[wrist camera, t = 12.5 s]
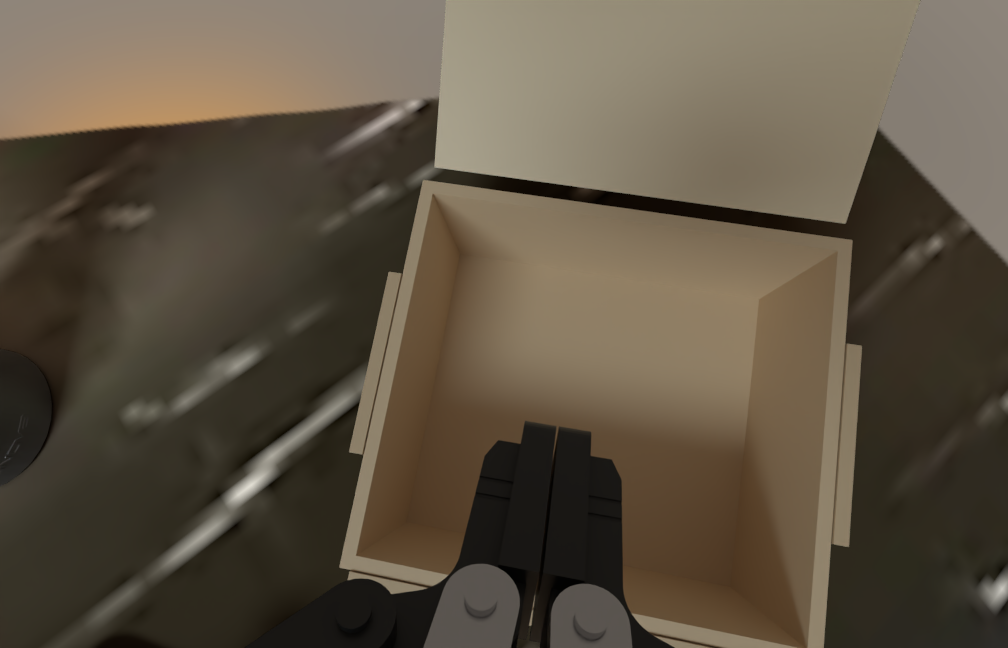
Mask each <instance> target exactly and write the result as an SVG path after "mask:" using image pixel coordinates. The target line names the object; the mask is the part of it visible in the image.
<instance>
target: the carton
mask: <svg viewBox="0 0 1008 648" xmlns="http://www.w3.org/2000/svg"><path fill="white" fill-rule="evenodd" d="M852 241H853V240H848V239H841V238H834V237H826V236H819V235H812V234H805V233H798V232H791V231H784V230H776V229H769V228H762V227H755V226H748V225H741V224H734V223H727V222H719V221H712V220H705V219H698V218H691V217H684V216H677V215H669V214H662V213H655V212H648V211H641V210H634V209H627V208H620V207H612V206H605V205H598V204H591V203H584V202H577V201H570V200H562V199H555V198H548V197H541V196H534V195H527V194H520V193H513V192H505V191H498V190H491V189H484V188H477V187H470V186H463V185H455V184H448V183H441V182H434V181H427V180H423V183H422V188H421V192H420V197H419V202H418V206H417V211H416V215H415V220H414V225H413V229H412V234H411V239H410V243H409V248H408V252H407V257H406V262H405V266H404V271H403V275H402V274H401V273H394V272H389V273H388V278H387V283H386V287H385V292H384V296H383V301H382V305H381V310H380V314H379V319H378V323H377V328H376V332H375V337H374V341H373V346H372V350H371V355H370V359H369V364H368V369H367V373H366V378H365V382H364V387H363V391H362V396H361V400H360V405H359V409H358V414H357V418H356V423H355V427H354V432H353V436H352V441H351V445H350V450H349V452H351V453H357V454H364V456H363V461H362V465H361V470H360V474H359V479H358V484H357V488H356V493H355V498H354V502H353V507H352V511H351V516H350V521H349V525H348V530H347V535H346V539H345V544H344V548H343V553H342V558H341V562H340V567H339V568H344V569H349V570H351V571H350V572H349V576H348V580H352V579H359V578H363V579H370V580H374V581H376V582H379V583H380V584H382V585H383V586H385V587H386V588H387V589H388V590H389V592H390V593H391V594H396V593H403V592H410V591H417V590H422V589H426V588H429V587H432V586H434V585H436V584H438V583H439V582H441V581H442V580H443V579H445V578H446V577H447V576H448V575H449V574H450V573H451V572H452V570H453V569H454V567H455V566H456V564H457V562H458V559H459V556H460V552H461V548H462V544H463V540H464V536H465V532H466V528H467V524H468V520H469V516H470V512H471V508H472V504H473V500H474V496H475V493H476V488H477V484H478V480H479V477H480V472H481V468H482V464H483V460H484V456H485V455H486V454H487V453H488V451H489V450H490V449H491V448H492V447H493V446H494V444H495V443H496V442H497V441H498V440H501V441H507V442H513V443H518V444H521V439H522V434H523V428H524V423H525V421H530V422H536V423H542V424H548V425H554V426H556V435H555V444H554V451H555V445H556V440H557V434H558V429H559V426H560V427H566V428H572V429H578V430H584V431H590V432H591V456H594V457H600V458H606V459H612V461H613V463H614V465H615V467H616V469H617V471H618V473H619V475H620V477H621V479H622V504H621V505H622V543H623V591H624V597H625V601H626V603H627V606H628V608H629V610H630V612H631V613H632V615H633V616H634V618H635V619H636V620H637V622H638V623H639V624H640V625H641V626H642V627H643V628H644V629H645V630H647V631H648V632H649V633H650V634H652V635H654V636H655V637H657V638H658V639H660V640H662V641H664V642H666V643H667V644H669V645H671V646H673V647H675V648H824V634H825V620H826V606H827V592H828V578H829V564H830V550H831V543H832V544H835V545H841V546H846V547H849V535H850V520H851V505H852V490H853V475H854V459H855V444H856V429H857V414H858V399H859V384H860V368H861V353H862V346H859V345H853V344H845V339H846V325H847V311H848V297H849V283H850V269H851V255H852ZM553 456H554V452H553ZM534 599H535V597H534ZM533 608H534V602H533V607H532V612H531V618H530V623H529V626H531V624H532V616H533Z"/></svg>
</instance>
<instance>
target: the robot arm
mask: <svg viewBox="0 0 1008 648" xmlns="http://www.w3.org/2000/svg"><path fill="white" fill-rule="evenodd" d="M51 413H52V401H51V394H50V389H49V387H48V384H47V382H46V379H45V377H44V376H43V374H42V373H41V371H40V370H39V368H38V367H37V366H36V365H35V364H34V363H33V362H31V361H30V360H29V359H28V358H26V357H24V356H22V355H20V354H18V353H16V352H12V351H7V350H3V349H0V486H1V485H3V484H6V483H7V482H9V481H10V480H12V479H13V478H15V477H16V476H18V475H19V474H20V473H21V472H22V471H23V470H24V469H25V468H26V467H27V466H28V465H29V464H30V463H31V462H32V461H33V459H34V458H35V457H36V455H37V454H38V452H39V451H40V449H41V447H42V445H43V443H44V441H45V439H46V437H47V434H48V430H49V426H50V422H51ZM555 435H556V426H554V425H548V424H542V423H536V422H530V421H525V423H524V428H523V434H522V439H521V444H518V443H513V442H507V441H501V440H498V441H497V442H496V443H495V444H494V446H493V447H492V448H491V449H490V450H489V451H488V453H487V454H486V455H485V456H484V460H483V464H482V468H481V472H480V477H479V480H478V484H477V488H476V493H475V496H474V500H473V504H472V508H471V512H470V516H469V520H468V524H467V528H466V532H465V536H464V540H463V544H462V548H461V552H460V556H459V559H458V562H457V564H456V566H455V567H454V569H453V570H452V572H451V573H450V574H449V575H448V576H447V577H446V578H445V579H443V580H442V581H441V582H439V583H438V584H436V585H434V586H432V587H429V588H426V589H422V590H417V591H410V592H403V593H396V594H391V593H390V592H389V590H388V589H387V588H386V587H385V586H383V585H382V584H380V583H379V582H376V581H374V580H370V579H363V578H359V579H352V580H347V581H345V582H342V583H340V584H338V585H337V586H335V587H333V588H332V589H330V590H329V591H327V592H326V593H324V594H323V595H322V596H320V597H319V598H317V599H316V600H314V601H313V602H311V603H310V604H308V605H307V606H305V607H304V608H302V609H301V610H299V611H298V612H296V613H295V614H294V615H292V616H291V617H289V618H288V619H286V620H285V621H283V622H282V623H280V624H279V625H277V626H276V627H274V628H273V629H271V630H270V631H268V632H267V633H266V634H264V635H263V636H261V637H260V638H258V639H257V640H255V641H254V642H252V643H251V644H249V645H248V646H246V647H245V648H516V647H517V641H518V638H519V639H524V640H526V638H527V633H528V628H529V623H530V618H531V612H532V607H533V602H534V608H533V616H532V624H531V632H530V641H535V642H540V648H675V647H673V646H671V645H669V644H667V643H666V642H664V641H662V640H660V639H658V638H657V637H655V636H654V635H652V634H650V633H649V632H648V631H647V630H645V629H644V628H643V627H642V626H641V625H640V624H639V623H638V622H637V620H636V619H635V618H634V616H633V615H632V613H631V612H630V610H629V608H628V606H627V603H626V601H625V597H624V591H623V543H622V505H621V504H622V479H621V477H620V475H619V473H618V471H617V469H616V467H615V465H614V463H613V461H612V459H606V458H600V457H594V456H591V432H590V431H584V430H578V429H572V428H566V427H560V426H559V429H558V434H557V440H556V445H555V451H554V444H555ZM553 452H554V456H553ZM534 597H535V599H534Z"/></svg>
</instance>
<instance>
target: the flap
mask: <svg viewBox="0 0 1008 648" xmlns="http://www.w3.org/2000/svg"><path fill="white" fill-rule="evenodd" d="M920 1H921V0H446V11H445V25H444V40H443V53H442V68H441V82H440V96H439V111H438V125H437V139H436V153H435V167H437V168H444V169H451V170H458V171H466V172H473V173H480V174H488V175H495V176H502V177H509V178H517V179H524V180H531V181H538V182H546V183H553V184H560V185H567V186H575V187H582V188H589V189H596V190H604V191H611V192H618V193H626V194H633V195H640V196H647V197H655V198H662V199H669V200H676V201H684V202H691V203H698V204H705V205H713V206H720V207H727V208H734V209H742V210H749V211H756V212H764V213H771V214H778V215H785V216H793V217H800V218H807V219H814V220H822V221H829V222H836V223H843V224H846V221H847V218H848V215H849V212H850V209H851V206H852V203H853V200H854V197H855V194H856V191H857V188H858V185H859V182H860V179H861V176H862V173H863V170H864V167H865V165H866V162H867V159H868V156H869V153H870V150H871V147H872V144H873V141H874V138H875V135H876V132H877V129H878V126H879V123H880V120H881V117H882V114H883V111H884V108H885V105H886V102H887V99H888V96H889V93H890V90H891V87H892V84H893V81H894V78H895V75H896V72H897V69H898V66H899V63H900V60H901V58H902V54H903V51H904V48H905V46H906V43H907V40H908V37H909V34H910V30H911V28H912V25H913V22H914V19H915V16H916V13H917V10H918V7H919V4H920Z"/></svg>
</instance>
